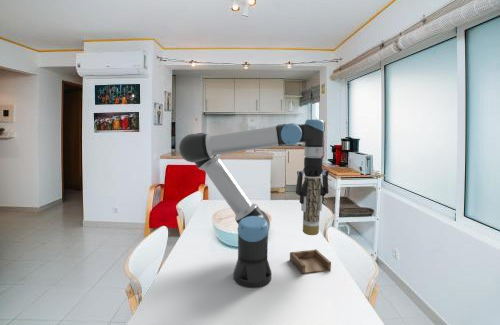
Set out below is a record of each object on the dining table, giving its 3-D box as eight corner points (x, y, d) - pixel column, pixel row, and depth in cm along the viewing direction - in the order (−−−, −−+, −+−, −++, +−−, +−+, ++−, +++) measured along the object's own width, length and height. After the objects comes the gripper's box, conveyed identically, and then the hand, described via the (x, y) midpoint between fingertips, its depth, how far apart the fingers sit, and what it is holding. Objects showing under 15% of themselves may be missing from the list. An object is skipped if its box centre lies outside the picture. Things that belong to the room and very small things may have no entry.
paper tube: (319, 236, 118) (321, 177, 115) (302, 235, 119) (304, 176, 116) (318, 230, 125) (320, 174, 122) (302, 229, 126) (304, 174, 123)
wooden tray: (302, 274, 116) (302, 265, 116) (289, 259, 128) (290, 252, 128) (330, 270, 119) (331, 262, 119) (315, 256, 132) (316, 249, 131)
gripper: (295, 158, 112) (293, 214, 115) (339, 157, 117) (336, 211, 120) (288, 156, 119) (286, 209, 122) (329, 155, 124) (327, 206, 127)
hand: (311, 210), depth 121 cm, fingers closed on paper tube, 7 cm apart
